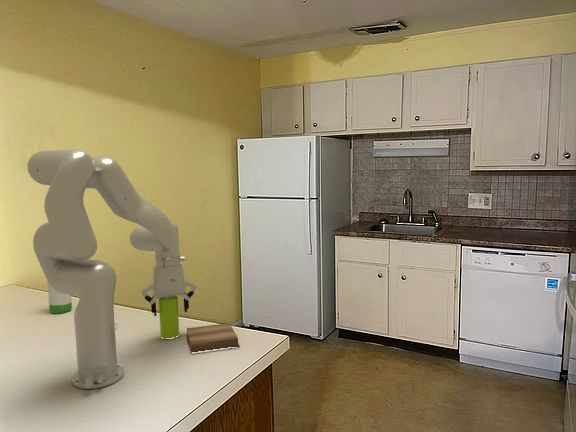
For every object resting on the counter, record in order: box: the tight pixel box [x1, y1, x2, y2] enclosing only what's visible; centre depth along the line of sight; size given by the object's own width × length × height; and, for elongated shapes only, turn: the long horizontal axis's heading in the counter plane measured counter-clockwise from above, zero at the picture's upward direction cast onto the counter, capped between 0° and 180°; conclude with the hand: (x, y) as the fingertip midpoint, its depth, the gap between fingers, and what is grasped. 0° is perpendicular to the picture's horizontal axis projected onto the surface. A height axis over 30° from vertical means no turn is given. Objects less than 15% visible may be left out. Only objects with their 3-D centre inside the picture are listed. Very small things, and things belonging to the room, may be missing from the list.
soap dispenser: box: [158, 279, 180, 338], centre depth 145 cm, size 6×7×20 cm
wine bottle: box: [46, 279, 73, 315], centre depth 172 cm, size 8×8×30 cm
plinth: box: [185, 322, 240, 354], centre depth 141 cm, size 15×15×3 cm
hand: (170, 312), depth 145 cm, fingers open, 9 cm apart
